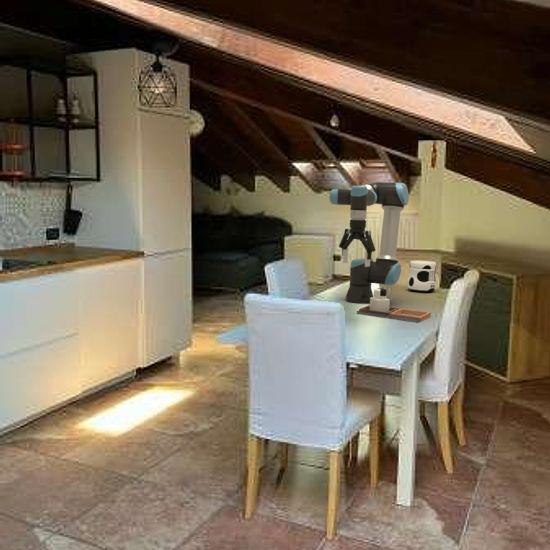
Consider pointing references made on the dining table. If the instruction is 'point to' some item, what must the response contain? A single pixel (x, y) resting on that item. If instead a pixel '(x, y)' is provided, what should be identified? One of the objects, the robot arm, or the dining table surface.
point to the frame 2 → (422, 314)
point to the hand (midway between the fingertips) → (356, 264)
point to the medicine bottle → (379, 300)
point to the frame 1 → (367, 309)
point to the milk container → (422, 276)
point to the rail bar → (388, 316)
